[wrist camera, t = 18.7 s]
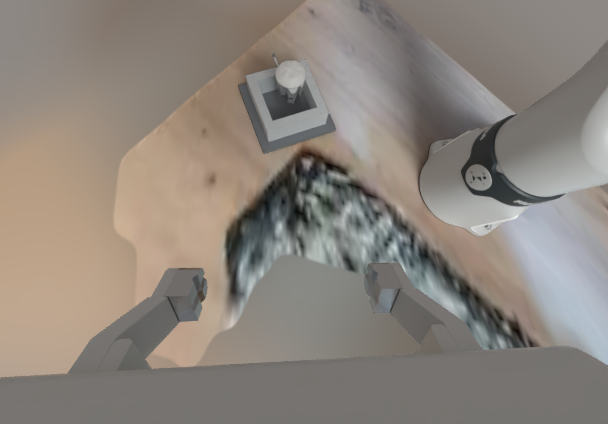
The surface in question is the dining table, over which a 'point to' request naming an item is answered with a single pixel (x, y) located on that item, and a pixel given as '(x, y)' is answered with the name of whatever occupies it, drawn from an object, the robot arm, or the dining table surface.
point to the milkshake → (289, 84)
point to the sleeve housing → (270, 118)
